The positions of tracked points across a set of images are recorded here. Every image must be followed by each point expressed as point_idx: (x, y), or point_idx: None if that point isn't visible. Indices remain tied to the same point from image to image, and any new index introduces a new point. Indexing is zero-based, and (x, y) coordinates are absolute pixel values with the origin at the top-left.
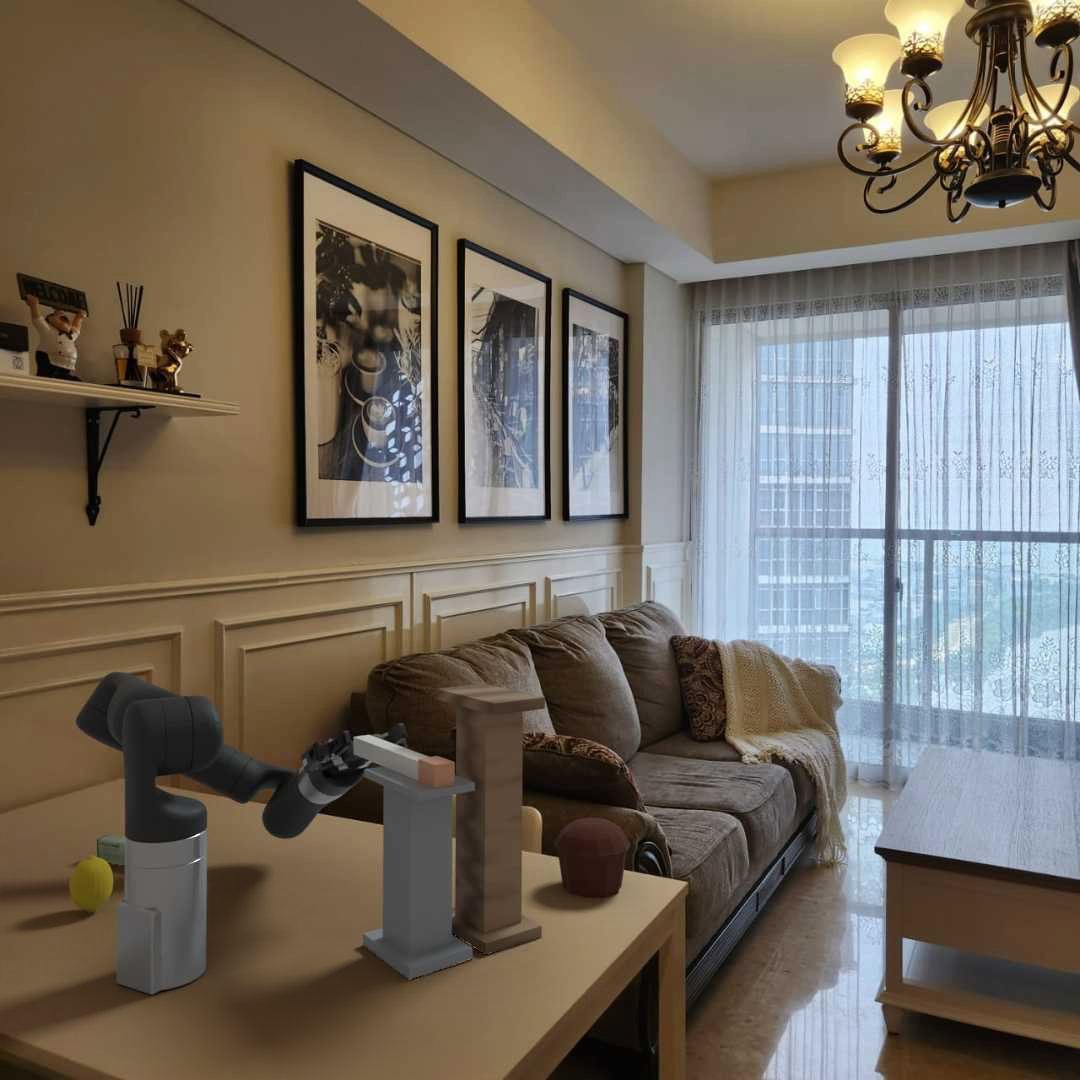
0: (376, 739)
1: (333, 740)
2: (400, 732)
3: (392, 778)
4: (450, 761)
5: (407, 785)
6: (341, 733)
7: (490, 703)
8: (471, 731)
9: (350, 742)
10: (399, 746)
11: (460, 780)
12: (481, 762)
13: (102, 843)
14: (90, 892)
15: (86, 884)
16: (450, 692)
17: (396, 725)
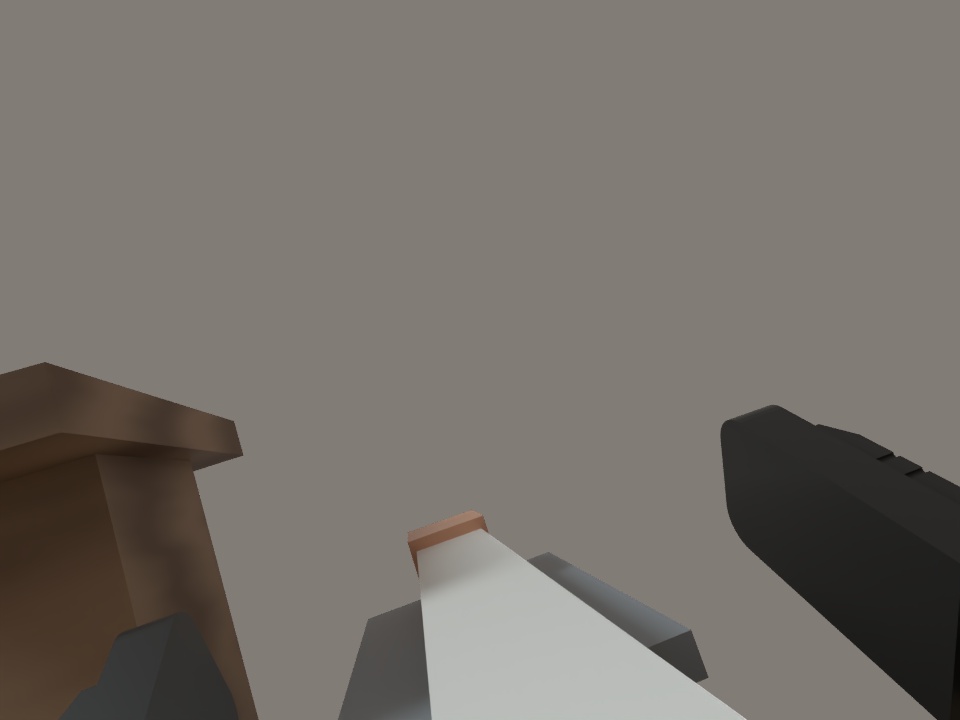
0: (477, 672)
1: (937, 488)
2: (217, 689)
3: (580, 590)
4: (415, 530)
5: (555, 569)
6: (804, 431)
7: (227, 422)
8: (181, 561)
9: (736, 511)
10: (429, 597)
11: (388, 620)
12: (232, 661)
13: None
14: None
15: None
16: (123, 387)
17: (169, 652)
